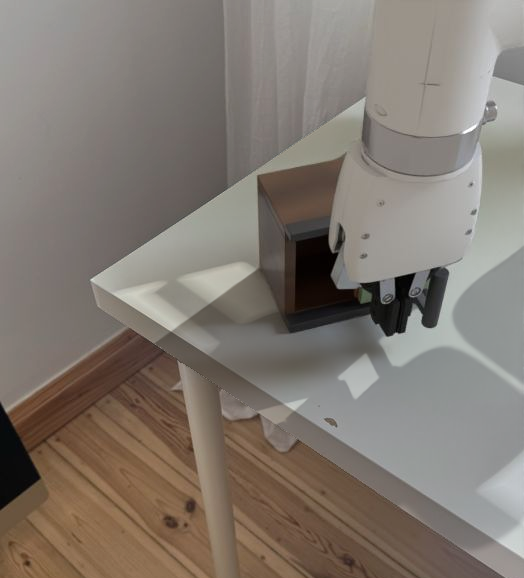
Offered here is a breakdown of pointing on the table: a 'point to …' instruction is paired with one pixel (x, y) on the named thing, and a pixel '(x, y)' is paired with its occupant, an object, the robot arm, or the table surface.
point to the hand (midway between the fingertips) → (388, 323)
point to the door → (424, 298)
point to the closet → (303, 246)
